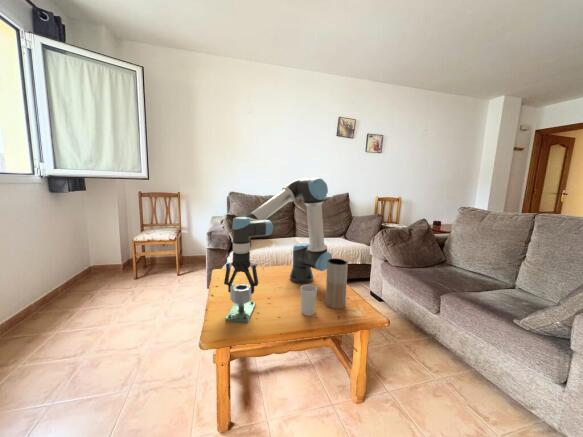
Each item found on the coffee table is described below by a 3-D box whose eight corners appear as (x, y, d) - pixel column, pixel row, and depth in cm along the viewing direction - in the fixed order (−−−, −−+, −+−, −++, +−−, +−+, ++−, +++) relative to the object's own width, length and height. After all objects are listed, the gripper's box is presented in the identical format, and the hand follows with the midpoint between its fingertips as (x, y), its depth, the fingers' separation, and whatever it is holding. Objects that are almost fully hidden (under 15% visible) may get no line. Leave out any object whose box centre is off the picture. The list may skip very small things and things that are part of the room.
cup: (302, 317, 108) (303, 292, 106) (297, 308, 116) (298, 285, 114) (318, 315, 110) (319, 290, 109) (312, 306, 118) (313, 283, 116)
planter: (321, 304, 121) (323, 260, 118) (332, 297, 128) (334, 257, 125) (338, 311, 114) (340, 265, 111) (349, 304, 121) (351, 261, 118)
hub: (251, 296, 114) (251, 284, 113) (247, 304, 106) (247, 291, 105) (235, 295, 114) (235, 283, 113) (230, 303, 106) (230, 290, 105)
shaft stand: (255, 304, 118) (255, 287, 117) (247, 322, 103) (247, 303, 101) (236, 303, 119) (235, 286, 118) (225, 321, 103) (225, 302, 102)
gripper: (265, 250, 110) (265, 296, 113) (221, 248, 111) (222, 294, 114) (262, 254, 103) (262, 304, 106) (215, 252, 104) (216, 301, 107)
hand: (241, 299), depth 110 cm, fingers closed on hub, 8 cm apart
